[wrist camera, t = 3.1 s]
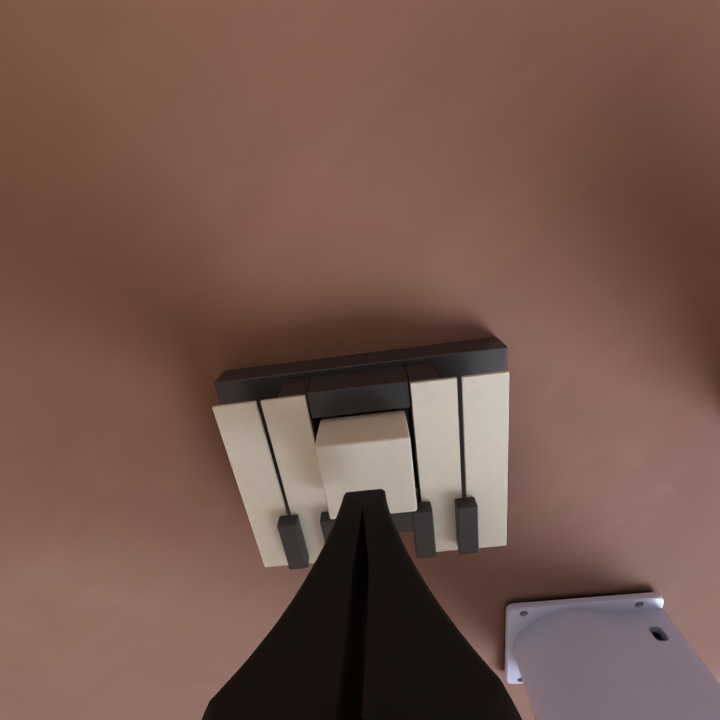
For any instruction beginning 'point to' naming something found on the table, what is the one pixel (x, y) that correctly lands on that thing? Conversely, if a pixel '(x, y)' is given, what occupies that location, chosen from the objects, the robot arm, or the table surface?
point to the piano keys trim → (435, 465)
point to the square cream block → (366, 459)
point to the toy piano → (365, 388)
